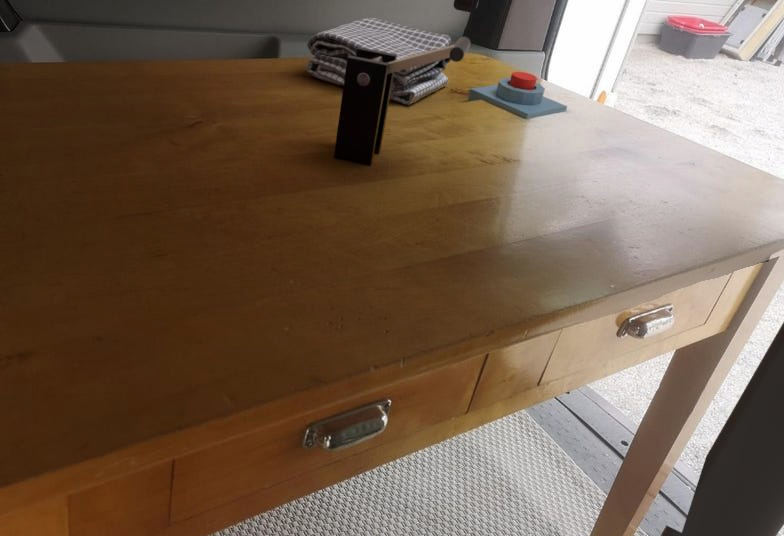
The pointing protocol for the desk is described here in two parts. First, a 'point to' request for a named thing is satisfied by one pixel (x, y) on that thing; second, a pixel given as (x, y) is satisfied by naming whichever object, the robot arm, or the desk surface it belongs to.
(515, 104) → the control block
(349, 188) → the desk surface
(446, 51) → the lever
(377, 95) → the switch bracket
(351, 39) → the towel
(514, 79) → the button
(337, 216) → the desk surface
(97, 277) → the desk surface
